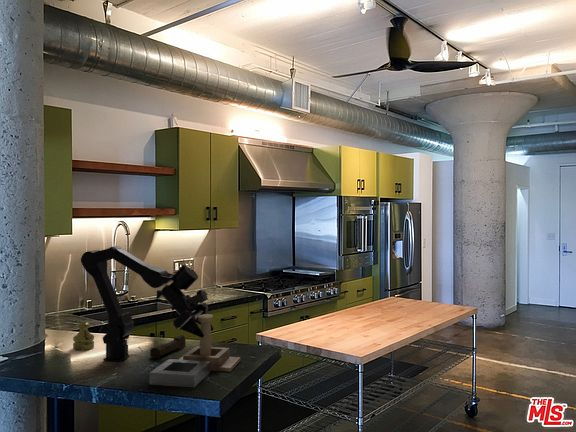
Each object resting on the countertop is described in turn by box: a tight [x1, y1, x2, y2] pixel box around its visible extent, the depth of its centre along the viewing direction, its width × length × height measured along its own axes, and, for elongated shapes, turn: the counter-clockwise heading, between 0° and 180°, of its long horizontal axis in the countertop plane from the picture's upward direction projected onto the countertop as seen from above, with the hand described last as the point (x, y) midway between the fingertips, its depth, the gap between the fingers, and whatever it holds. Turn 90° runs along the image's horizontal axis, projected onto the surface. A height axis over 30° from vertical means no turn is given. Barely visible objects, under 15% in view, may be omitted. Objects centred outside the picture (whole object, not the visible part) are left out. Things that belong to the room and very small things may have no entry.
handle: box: [198, 313, 214, 356], centre depth 167 cm, size 5×6×15 cm
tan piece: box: [177, 345, 242, 372], centre depth 167 cm, size 20×12×4 cm, turn 80°
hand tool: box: [149, 334, 187, 360], centre depth 182 cm, size 19×4×5 cm, turn 155°
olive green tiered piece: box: [72, 321, 95, 352], centre depth 187 cm, size 7×8×10 cm
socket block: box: [149, 358, 211, 389], centre depth 153 cm, size 14×14×4 cm
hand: (208, 333), depth 167 cm, fingers open, 9 cm apart
